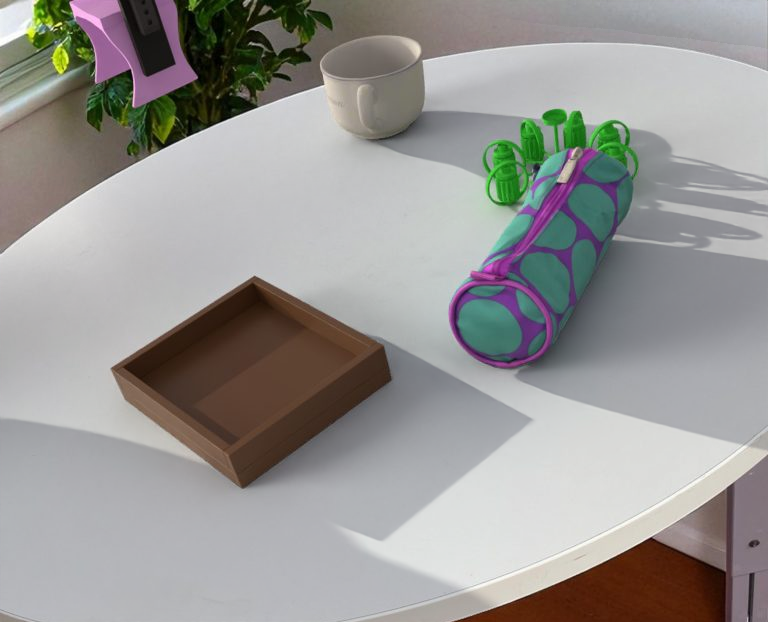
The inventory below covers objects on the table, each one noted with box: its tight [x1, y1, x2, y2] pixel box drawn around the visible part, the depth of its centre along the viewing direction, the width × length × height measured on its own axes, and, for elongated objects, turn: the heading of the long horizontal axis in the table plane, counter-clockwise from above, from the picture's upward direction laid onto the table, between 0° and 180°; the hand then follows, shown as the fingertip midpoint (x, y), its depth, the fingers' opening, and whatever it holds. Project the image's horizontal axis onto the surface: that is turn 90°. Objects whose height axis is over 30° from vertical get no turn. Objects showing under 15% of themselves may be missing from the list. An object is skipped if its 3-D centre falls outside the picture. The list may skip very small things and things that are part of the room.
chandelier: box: [482, 108, 640, 207], centre depth 100 cm, size 15×15×7 cm
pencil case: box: [448, 147, 634, 370], centre depth 86 cm, size 21×9×10 cm, turn 154°
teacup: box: [319, 34, 426, 140], centre depth 113 cm, size 14×11×8 cm
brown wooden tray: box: [110, 275, 393, 490], centre depth 88 cm, size 18×16×4 cm
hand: (138, 55), depth 91 cm, fingers closed on toy chair, 8 cm apart
